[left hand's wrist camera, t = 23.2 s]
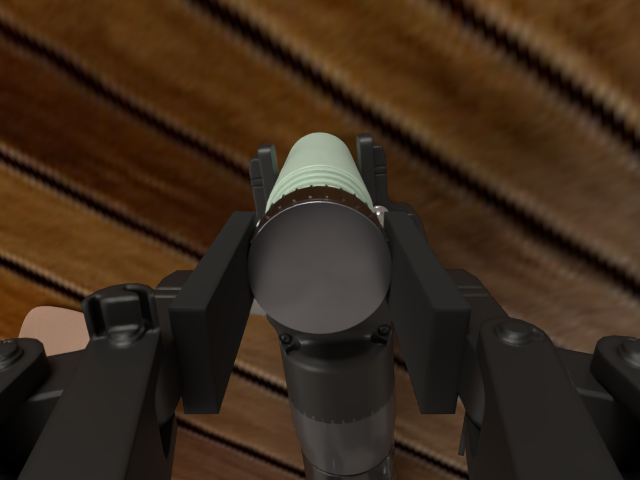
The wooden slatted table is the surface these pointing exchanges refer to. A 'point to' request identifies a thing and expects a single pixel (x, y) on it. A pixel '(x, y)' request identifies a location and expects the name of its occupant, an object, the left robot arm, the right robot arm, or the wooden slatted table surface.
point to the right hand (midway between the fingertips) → (314, 141)
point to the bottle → (319, 168)
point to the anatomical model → (56, 329)
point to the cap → (319, 260)
